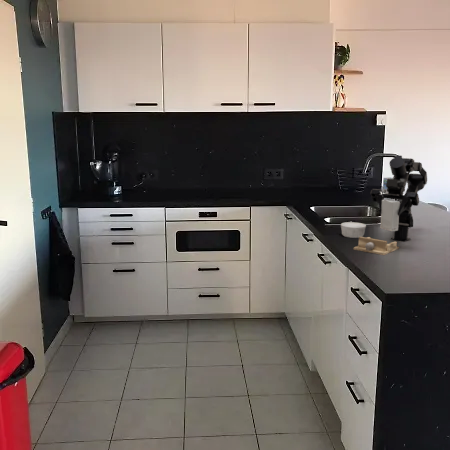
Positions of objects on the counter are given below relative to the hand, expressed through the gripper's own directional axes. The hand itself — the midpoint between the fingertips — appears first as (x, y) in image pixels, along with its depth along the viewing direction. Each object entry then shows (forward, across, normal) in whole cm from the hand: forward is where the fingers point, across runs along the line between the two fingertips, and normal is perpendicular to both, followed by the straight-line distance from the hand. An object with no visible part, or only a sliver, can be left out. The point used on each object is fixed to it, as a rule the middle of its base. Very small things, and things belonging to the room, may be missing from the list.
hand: (389, 213), depth 203 cm
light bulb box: (-101, -47, +130) cm, 171 cm away
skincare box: (+4, 0, +6) cm, 7 cm away
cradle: (+12, -3, +8) cm, 15 cm away
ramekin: (0, -20, +21) cm, 29 cm away
